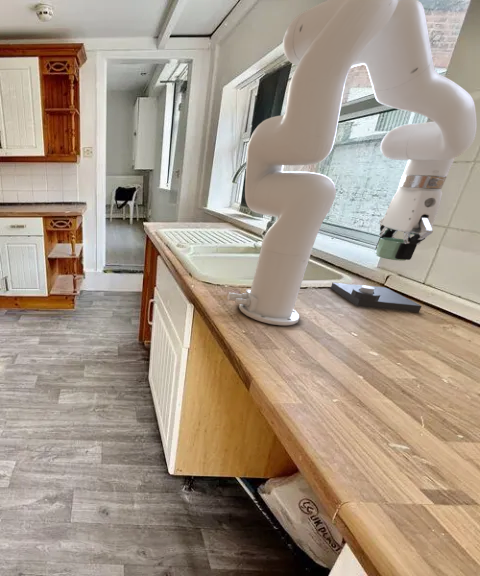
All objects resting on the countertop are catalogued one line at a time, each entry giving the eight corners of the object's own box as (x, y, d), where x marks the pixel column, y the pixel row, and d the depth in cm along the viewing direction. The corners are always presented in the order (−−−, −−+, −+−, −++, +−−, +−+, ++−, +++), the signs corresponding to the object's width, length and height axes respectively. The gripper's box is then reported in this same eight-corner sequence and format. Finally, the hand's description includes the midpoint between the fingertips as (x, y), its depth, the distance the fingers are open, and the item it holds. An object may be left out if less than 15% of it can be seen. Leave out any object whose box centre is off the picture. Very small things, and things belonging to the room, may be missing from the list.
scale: (356, 306, 79) (361, 294, 77) (329, 288, 91) (333, 277, 90) (419, 313, 77) (425, 300, 75) (383, 293, 89) (387, 282, 87)
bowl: (385, 259, 78) (392, 242, 76) (368, 253, 84) (374, 236, 82) (415, 262, 77) (423, 244, 75) (396, 255, 83) (403, 238, 81)
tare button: (363, 294, 79) (365, 288, 78) (357, 290, 81) (359, 284, 80) (374, 295, 78) (377, 289, 78) (368, 291, 81) (370, 285, 80)
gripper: (473, 186, 65) (435, 266, 72) (410, 182, 81) (384, 248, 88) (432, 185, 66) (399, 263, 73) (379, 181, 82) (355, 246, 89)
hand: (391, 254), depth 80 cm, fingers closed on bowl, 6 cm apart
